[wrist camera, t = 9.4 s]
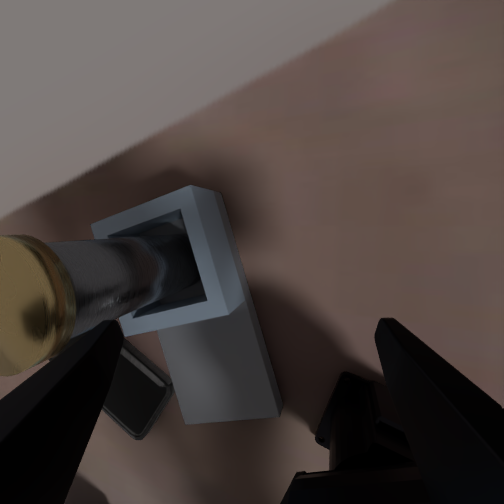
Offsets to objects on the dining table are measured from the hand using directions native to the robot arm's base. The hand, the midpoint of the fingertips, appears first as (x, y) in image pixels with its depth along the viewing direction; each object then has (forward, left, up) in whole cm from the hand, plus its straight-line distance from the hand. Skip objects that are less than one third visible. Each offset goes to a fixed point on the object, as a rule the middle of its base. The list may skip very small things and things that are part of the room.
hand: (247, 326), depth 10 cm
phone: (-16, +15, -13) cm, 26 cm away
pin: (-2, +9, -11) cm, 14 cm away
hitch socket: (-6, +6, -13) cm, 15 cm away
